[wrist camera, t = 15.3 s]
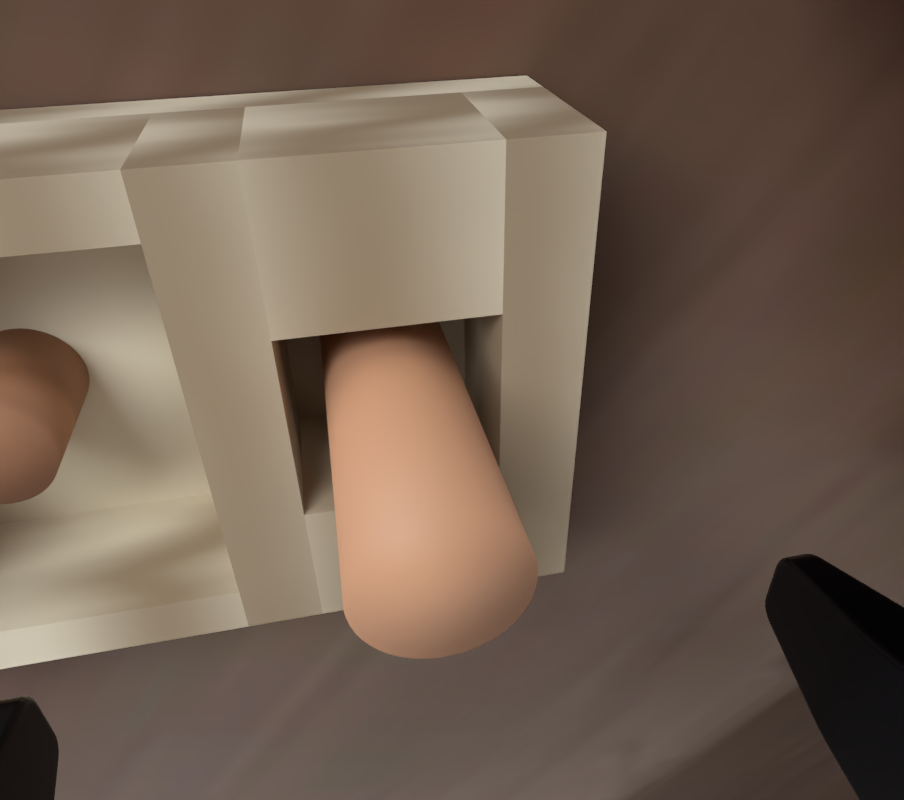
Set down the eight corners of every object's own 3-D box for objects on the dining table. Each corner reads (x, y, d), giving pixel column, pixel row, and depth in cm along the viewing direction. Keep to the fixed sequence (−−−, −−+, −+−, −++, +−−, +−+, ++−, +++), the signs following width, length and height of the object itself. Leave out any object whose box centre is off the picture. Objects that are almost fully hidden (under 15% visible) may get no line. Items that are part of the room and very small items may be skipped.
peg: (436, 273, 14) (540, 497, 8) (442, 379, 15) (536, 639, 10) (311, 288, 14) (329, 531, 8) (328, 395, 15) (354, 673, 9)
